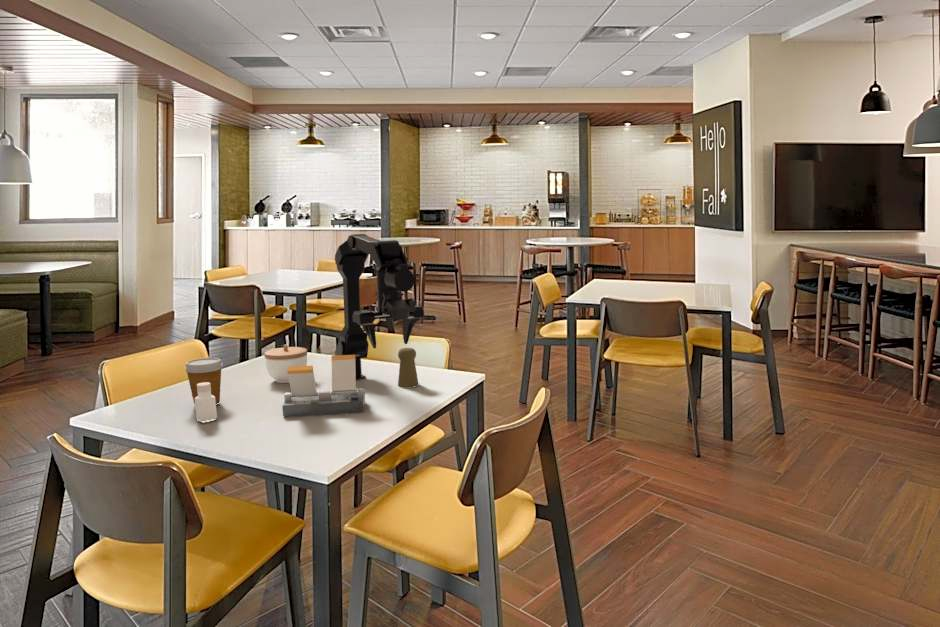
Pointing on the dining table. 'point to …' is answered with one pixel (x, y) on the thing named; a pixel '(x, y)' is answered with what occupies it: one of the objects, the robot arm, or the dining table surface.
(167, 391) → the dining table surface
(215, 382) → the disposable coffee cup
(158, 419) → the dining table surface
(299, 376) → the white orange-topped slab
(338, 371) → the panel
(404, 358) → the pepper shaker
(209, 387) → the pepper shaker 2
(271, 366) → the lidded bowl
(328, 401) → the light switch frame
